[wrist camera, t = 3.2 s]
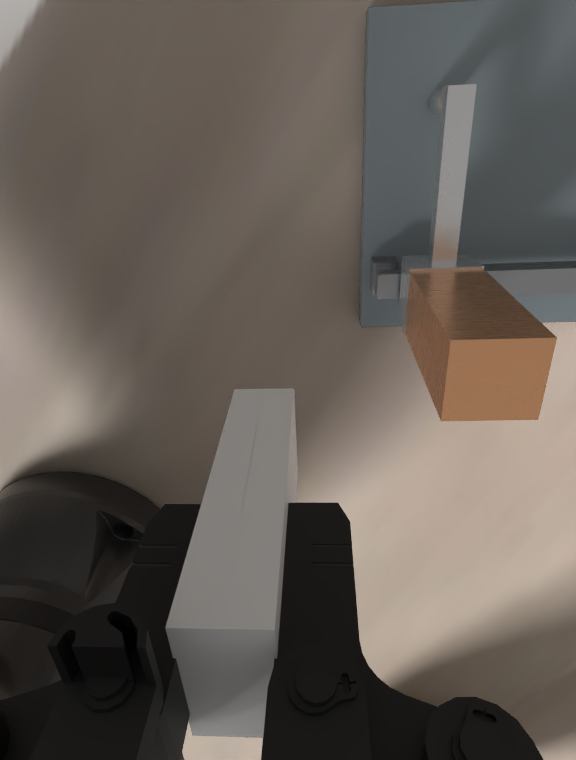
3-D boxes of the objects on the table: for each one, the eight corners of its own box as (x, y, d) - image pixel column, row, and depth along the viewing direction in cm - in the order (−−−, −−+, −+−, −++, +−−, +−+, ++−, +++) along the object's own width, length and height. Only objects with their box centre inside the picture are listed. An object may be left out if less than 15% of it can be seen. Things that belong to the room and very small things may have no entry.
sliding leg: (391, 302, 26) (440, 423, 16) (403, 90, 21) (482, 75, 11) (450, 300, 26) (537, 422, 16) (475, 86, 21) (618, 67, 11)
